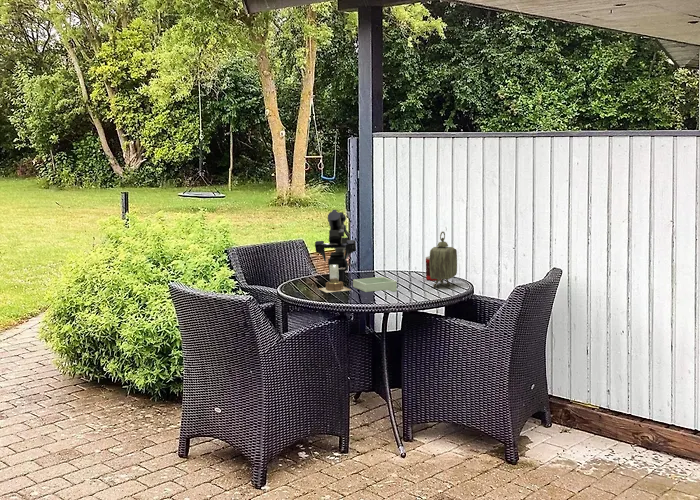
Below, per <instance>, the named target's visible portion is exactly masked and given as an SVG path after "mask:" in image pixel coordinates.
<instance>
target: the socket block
mask: <svg viewBox="0 0 700 500" xmlns="http://www.w3.org/2000/svg"><path fill="white" fill-rule="evenodd" d="M329 282H330V281H327V282H325V287H319V288H318V289H319V290H320V291H322V292H324V293H326V294H327V293H334V292H335V293H337V292H346V291H352V289H350V288H348V287H346V286H344V281H343V282H341V281H339V282H340V283H337V284H329Z"/></svg>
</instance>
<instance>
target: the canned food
mask: <svg viewBox="0 0 700 500" xmlns="http://www.w3.org/2000/svg"><path fill="white" fill-rule="evenodd" d="M425 278H426V280H427V281H429V282H431V281H432V282H434V281H435V282H436V281H437V279H431V278H430V255H428V256H426V257H425ZM439 281H441V279H440V280H439Z"/></svg>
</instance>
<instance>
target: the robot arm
mask: <svg viewBox="0 0 700 500" xmlns="http://www.w3.org/2000/svg"><path fill="white" fill-rule="evenodd" d="M346 220H347V217H346V214H344V212H339V211H337V209H332V211H330V212H329V213H328V215H327V222H328V226H329V233H328V235H329V236H328V243H325V241H324V240H316V241H315V242H314V248H315V252H316V253H318V254H319V255H321V256H322V258H323V261H324V262H326V260H327V259H326V257H327V256H326V252H325V250H326V249H335V250H334V252H333V251H332V252H331V253H330V255H329V258H328V260H327V265H328V272H330V267H329V265H332V264H337V265H338V270H339V281H341V282H343V283H344V282H346V272H347V271H349V263H348V261H347V259H348V258H349V256H350V255H351V254H352V253H354V252H356V251H357V243H356V240H355V239H353V240H352V239H351V234H350V232H349V231H348V230H347V225H346V224H345V223H346ZM345 235H346V237H345Z"/></svg>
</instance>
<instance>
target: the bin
mask: <svg viewBox="0 0 700 500" xmlns="http://www.w3.org/2000/svg"><path fill="white" fill-rule="evenodd" d="M397 282H398V281H396V280H394V279H391V278H389V277H388V278H387V277H385V276H377V277H366V278H356V279H352V285H353V286H352V287H353V288H354V289H357V290H359V291H362V292H365V293H369V292H379V291H390V292H393V293H394V292H398V289H397Z"/></svg>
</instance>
